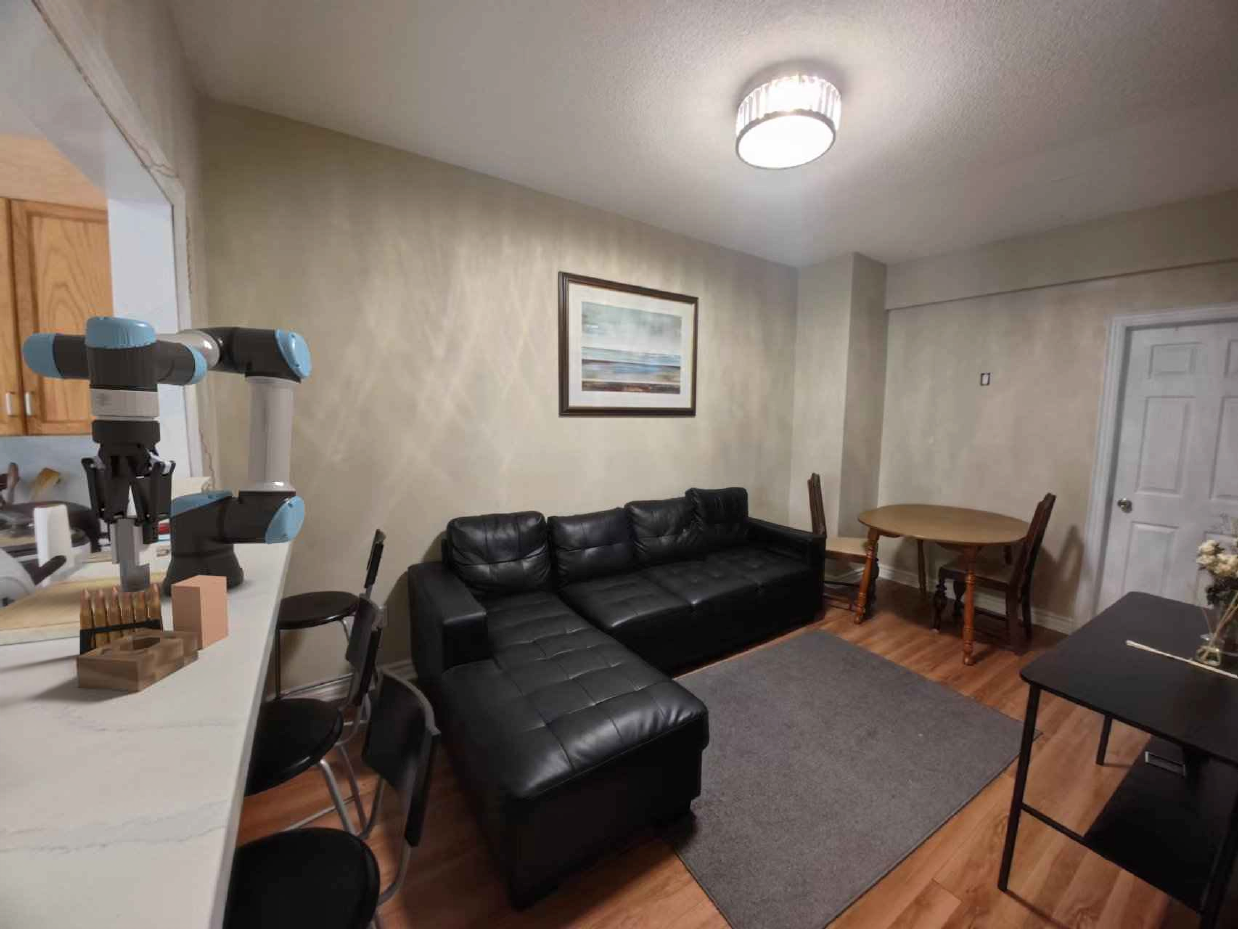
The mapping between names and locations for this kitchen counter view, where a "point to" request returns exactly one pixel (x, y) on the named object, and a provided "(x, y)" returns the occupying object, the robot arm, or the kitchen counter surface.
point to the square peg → (201, 608)
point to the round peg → (130, 558)
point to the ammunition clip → (116, 617)
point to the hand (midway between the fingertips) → (134, 562)
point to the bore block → (136, 660)
